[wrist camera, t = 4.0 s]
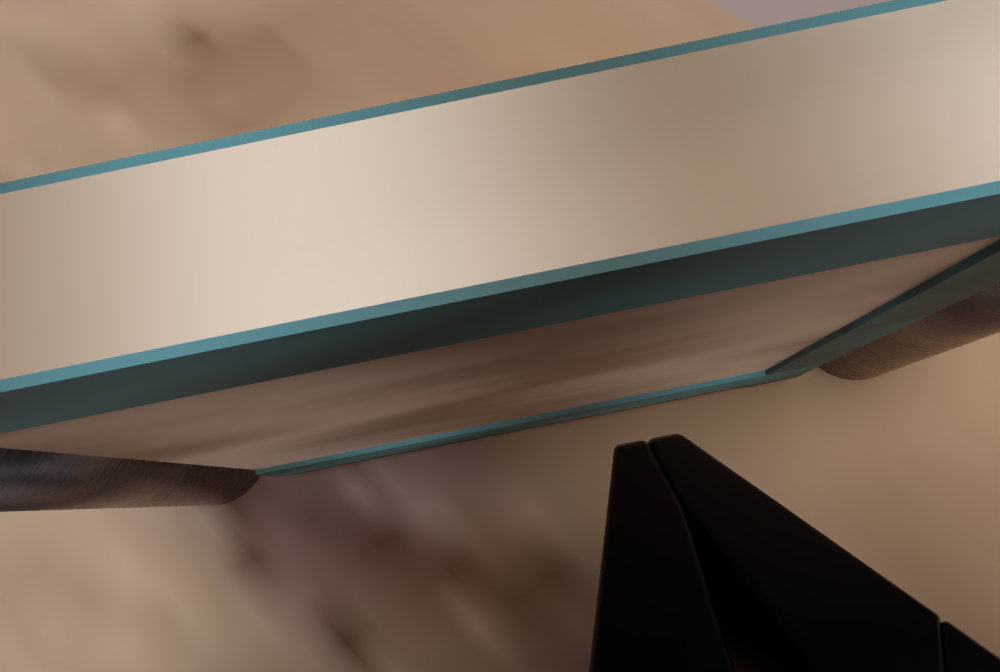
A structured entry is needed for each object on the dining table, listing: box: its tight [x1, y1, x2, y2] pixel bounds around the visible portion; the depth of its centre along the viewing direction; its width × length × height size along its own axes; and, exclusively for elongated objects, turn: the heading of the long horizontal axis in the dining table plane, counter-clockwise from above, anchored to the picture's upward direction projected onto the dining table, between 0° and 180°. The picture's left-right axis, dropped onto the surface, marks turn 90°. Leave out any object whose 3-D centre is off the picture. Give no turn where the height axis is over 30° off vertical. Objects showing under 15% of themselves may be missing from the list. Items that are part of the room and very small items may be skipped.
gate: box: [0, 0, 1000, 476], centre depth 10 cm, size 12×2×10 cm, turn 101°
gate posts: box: [0, 283, 1000, 512], centre depth 11 cm, size 18×2×8 cm, turn 101°
